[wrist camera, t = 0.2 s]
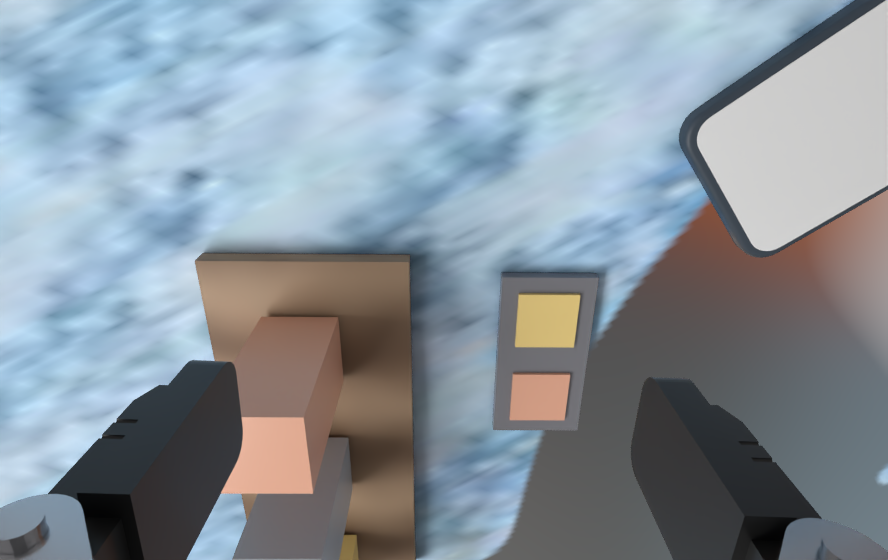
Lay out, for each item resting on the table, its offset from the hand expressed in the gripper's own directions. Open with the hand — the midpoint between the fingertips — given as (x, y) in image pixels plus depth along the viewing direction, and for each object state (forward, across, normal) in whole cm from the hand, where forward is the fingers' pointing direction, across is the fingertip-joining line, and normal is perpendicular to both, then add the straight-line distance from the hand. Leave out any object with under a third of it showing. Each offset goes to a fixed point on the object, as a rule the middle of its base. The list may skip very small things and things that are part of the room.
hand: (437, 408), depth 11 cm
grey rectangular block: (+17, +7, +16) cm, 25 cm away
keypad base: (+18, +7, +15) cm, 24 cm away
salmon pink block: (+17, +7, +8) cm, 20 cm away
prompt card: (+18, -6, +9) cm, 21 cm away
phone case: (+18, -20, -6) cm, 27 cm away
